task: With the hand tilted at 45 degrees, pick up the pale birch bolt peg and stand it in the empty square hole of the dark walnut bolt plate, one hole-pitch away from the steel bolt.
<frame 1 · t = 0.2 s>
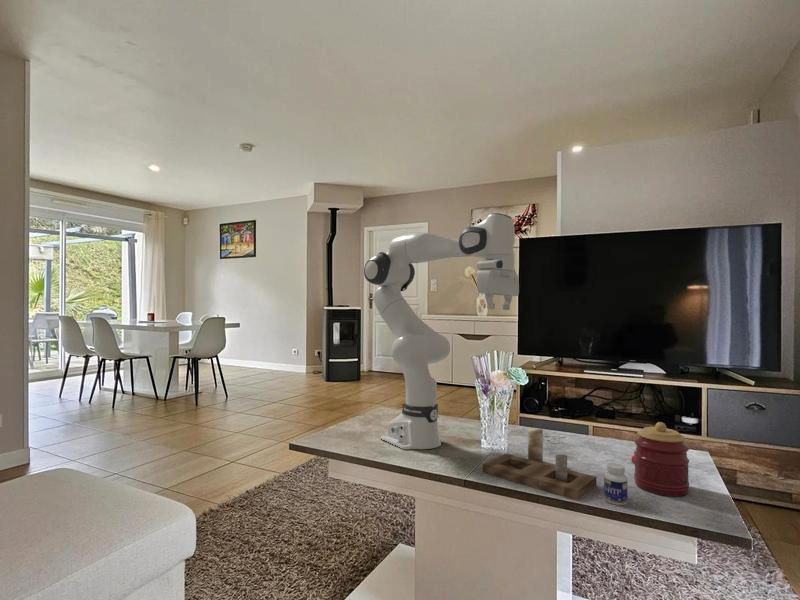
hand: (498, 309, 139), 48 cm above the table, tool pointing down, fingers open, 8 cm apart
bolt plate: (537, 478, 127), on the table
pill bottle: (615, 501, 113), on the table
canister: (660, 488, 122), on the table
bolt peg: (535, 461, 141), on the table
scissors: (536, 438, 170), on the table
race car: (649, 463, 143), on the table
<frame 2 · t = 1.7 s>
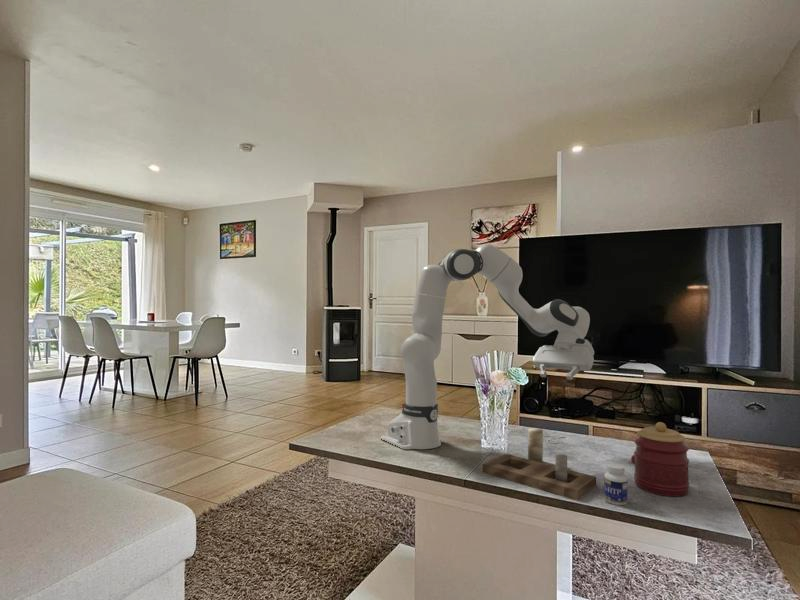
hand: (555, 377, 151), 25 cm above the table, tool tilted 45°, fingers open, 8 cm apart
nothing on the table moved.
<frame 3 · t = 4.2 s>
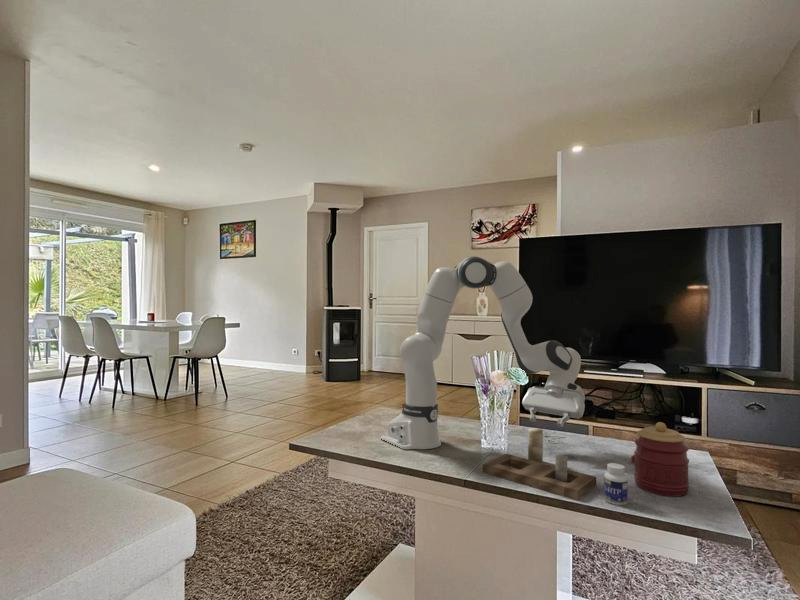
hand: (545, 423, 147), 11 cm above the table, tool tilted 45°, fingers open, 8 cm apart
nothing on the table moved.
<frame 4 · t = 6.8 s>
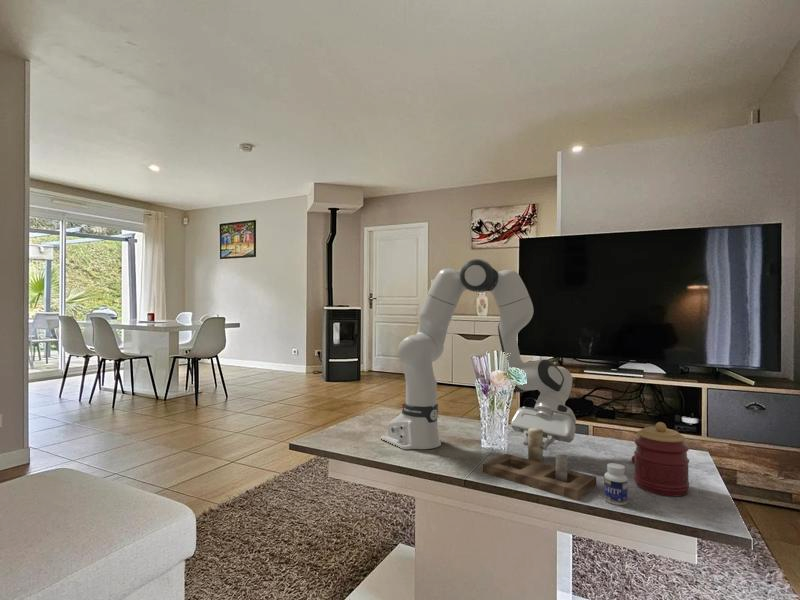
hand: (534, 446, 141), 5 cm above the table, tool tilted 45°, fingers closed on bolt peg, 4 cm apart
bolt peg: (535, 461, 141), on the table, touching gripper
everything else where it was.
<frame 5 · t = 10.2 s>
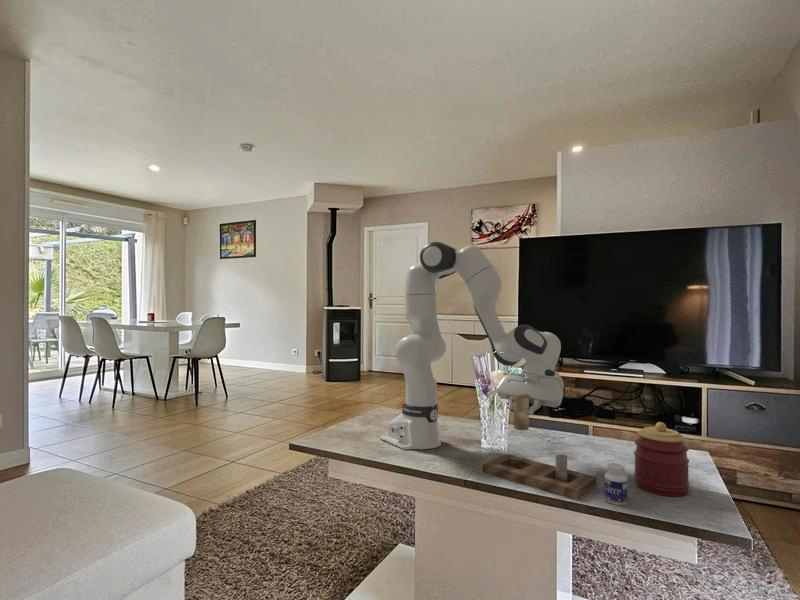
hand: (520, 412, 135), 17 cm above the table, tool tilted 45°, fingers closed on bolt peg, 4 cm apart
bolt peg: (521, 428, 135), point 12 cm above the table, touching gripper
when the fingers open (6 cm above the table, at t = 13.7 s): bolt peg drops 1 cm, resting in bolt plate.
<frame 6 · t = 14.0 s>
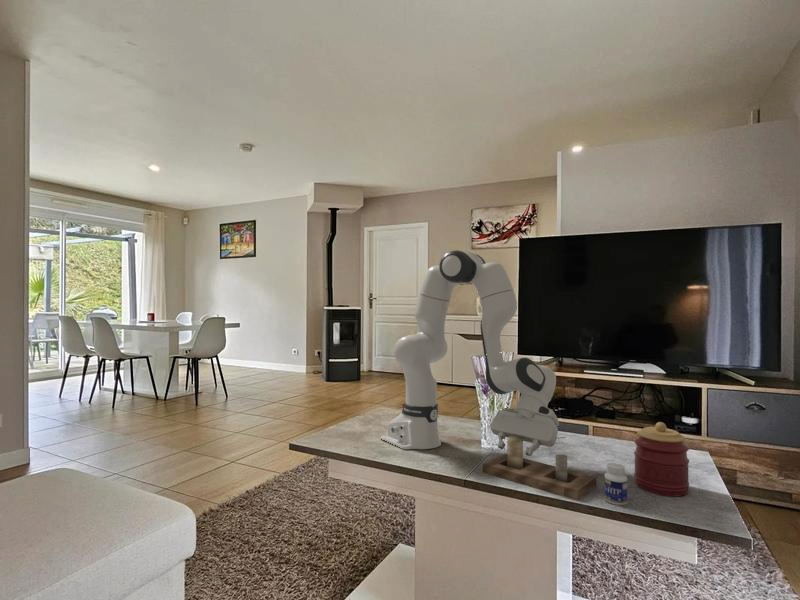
hand: (513, 451, 132), 6 cm above the table, tool tilted 45°, fingers open, 8 cm apart
bolt peg: (515, 472, 132), resting in bolt plate
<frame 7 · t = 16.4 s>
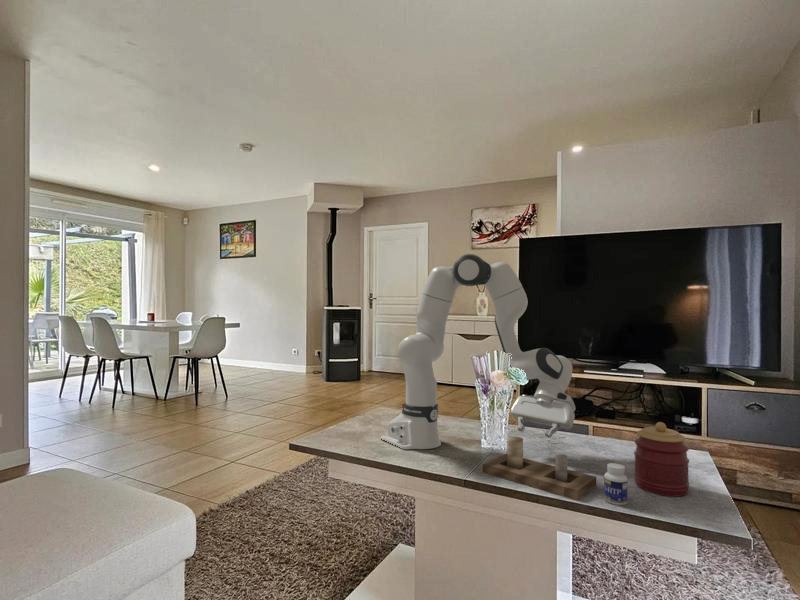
hand: (533, 433, 143), 9 cm above the table, tool tilted 45°, fingers open, 8 cm apart
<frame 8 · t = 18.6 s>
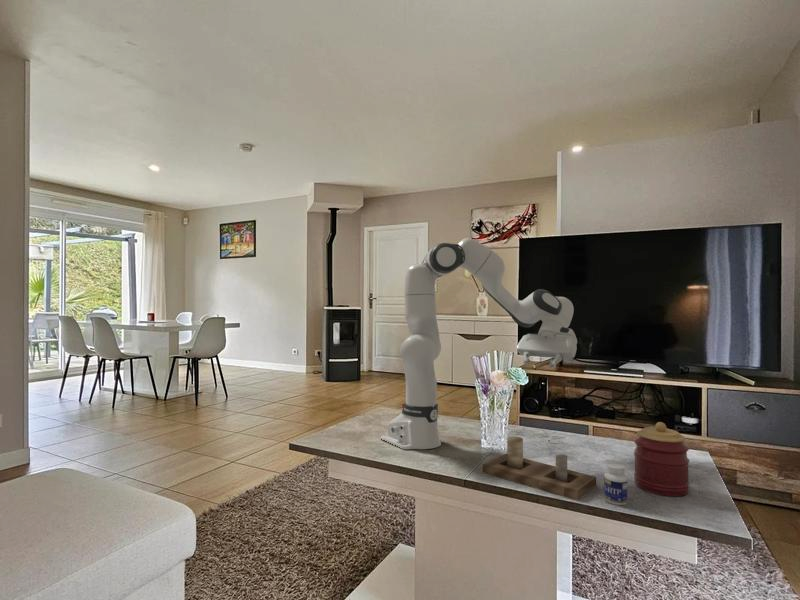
hand: (538, 364, 152), 29 cm above the table, tool tilted 45°, fingers open, 8 cm apart
at the end: bolt peg 0.0 cm from the target spot on the bolt plate, point 0.0 cm above the bolt plate's base; bolt peg tilted 0°; the gripper is holding nothing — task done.
